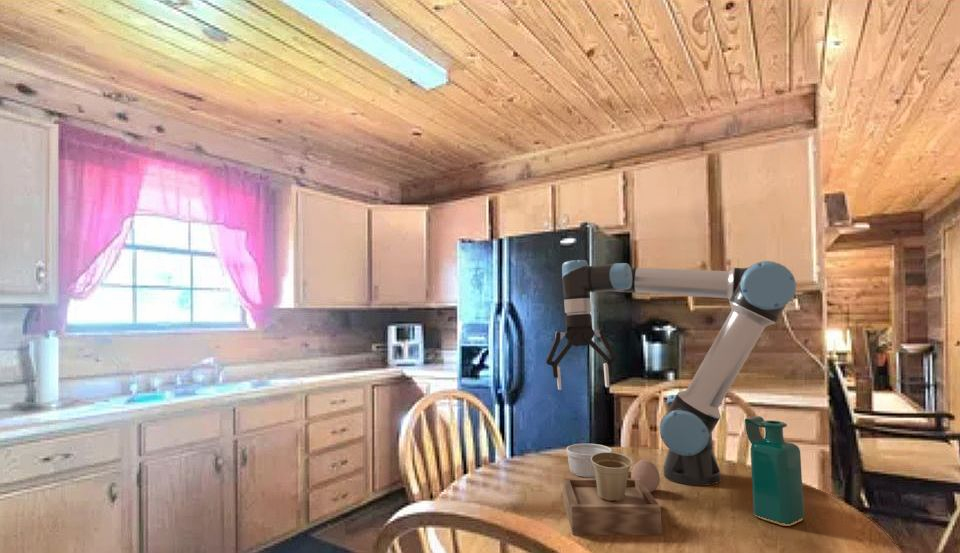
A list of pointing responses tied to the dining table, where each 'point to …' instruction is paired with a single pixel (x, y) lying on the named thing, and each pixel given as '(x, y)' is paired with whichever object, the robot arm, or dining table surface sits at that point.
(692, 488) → the dining table surface
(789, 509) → the teal bottle with handle
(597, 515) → the walnut open box
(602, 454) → the flower pot
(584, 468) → the ramekin
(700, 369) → the robot arm
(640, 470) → the egg
